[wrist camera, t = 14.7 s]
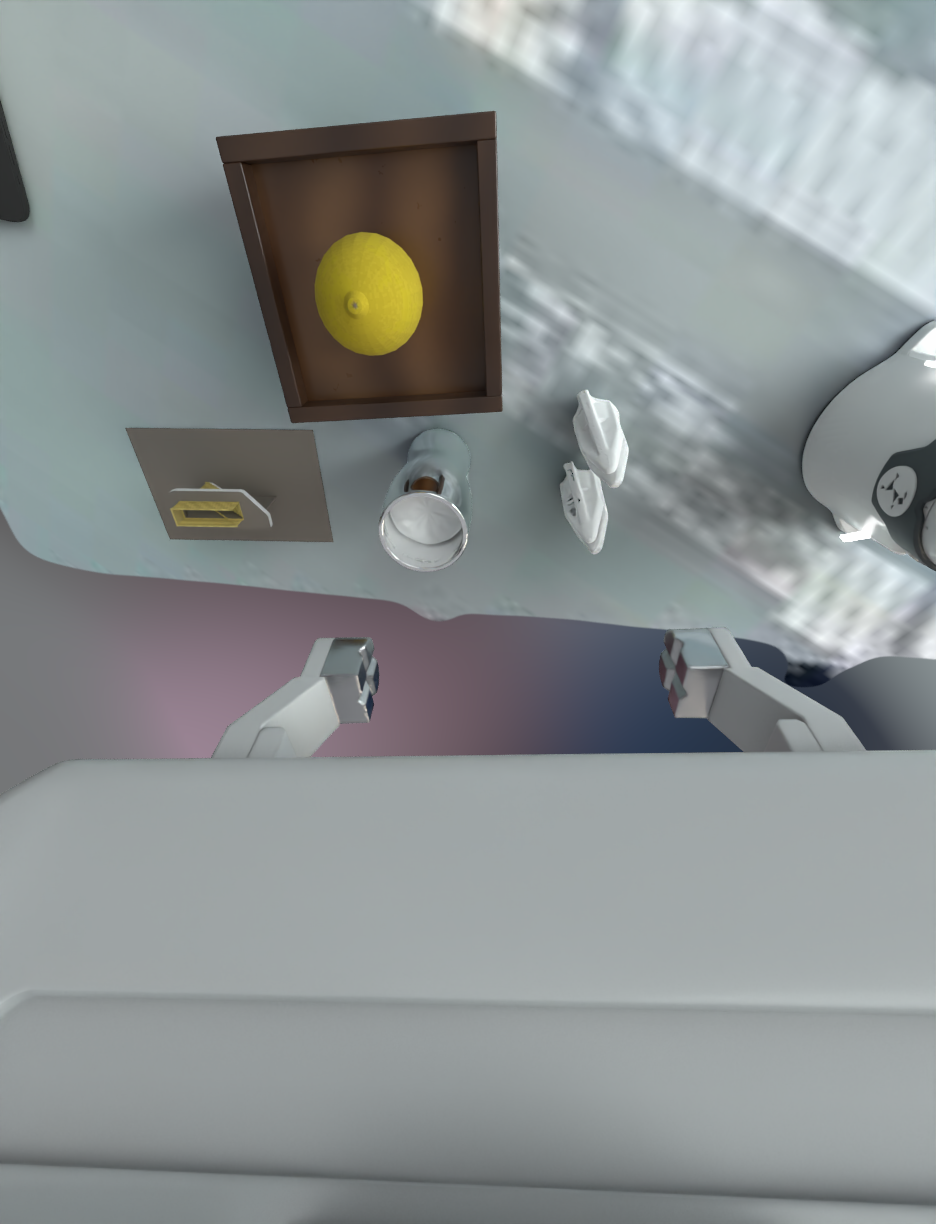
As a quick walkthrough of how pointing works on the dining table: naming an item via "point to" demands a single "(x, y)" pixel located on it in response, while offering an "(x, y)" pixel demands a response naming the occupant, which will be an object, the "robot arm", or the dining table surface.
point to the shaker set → (594, 469)
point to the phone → (10, 179)
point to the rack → (397, 209)
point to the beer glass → (429, 503)
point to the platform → (235, 483)
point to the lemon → (368, 293)
